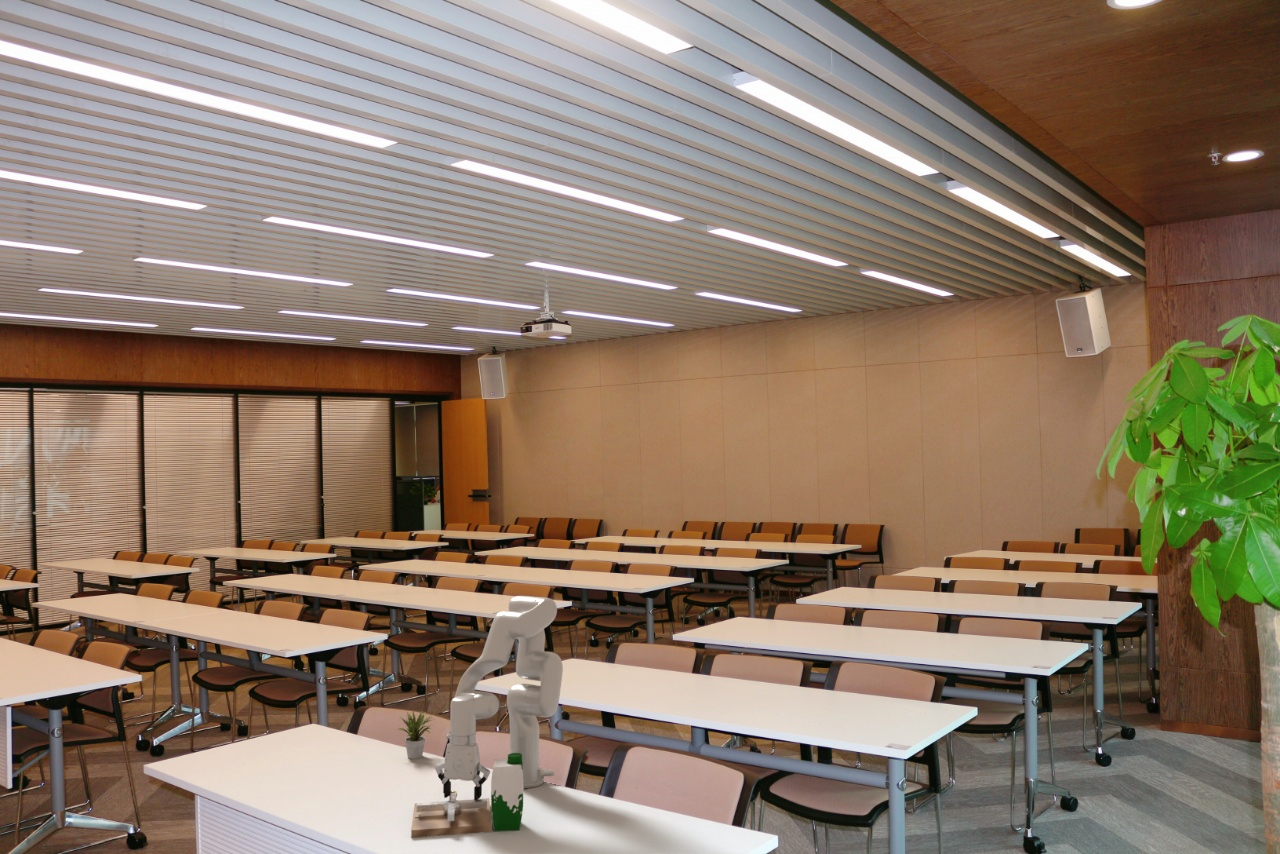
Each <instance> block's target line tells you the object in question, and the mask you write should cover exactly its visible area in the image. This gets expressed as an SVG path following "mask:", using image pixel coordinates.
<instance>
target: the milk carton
mask: <svg viewBox="0 0 1280 854" xmlns="http://www.w3.org/2000/svg"><path fill="white" fill-rule="evenodd" d="M522 766H523V762H522V754H520V753H511V754H510V753H508V754H507V757H506V758H500V759H497V758H496V759H494V762H493V767H492V773H491V781H490V782H491V783H490V785H491V786H490V790H491V791H490V795H491V796H490V800H491V801H490V811H491V820H492V827H493V831H494V832H511V831H512V832H513V831H516V832H517V831H520V830H521V826H522V824H521V823H522V816H523V811H524V788H523V770H522V769H523V768H522Z"/></svg>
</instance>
